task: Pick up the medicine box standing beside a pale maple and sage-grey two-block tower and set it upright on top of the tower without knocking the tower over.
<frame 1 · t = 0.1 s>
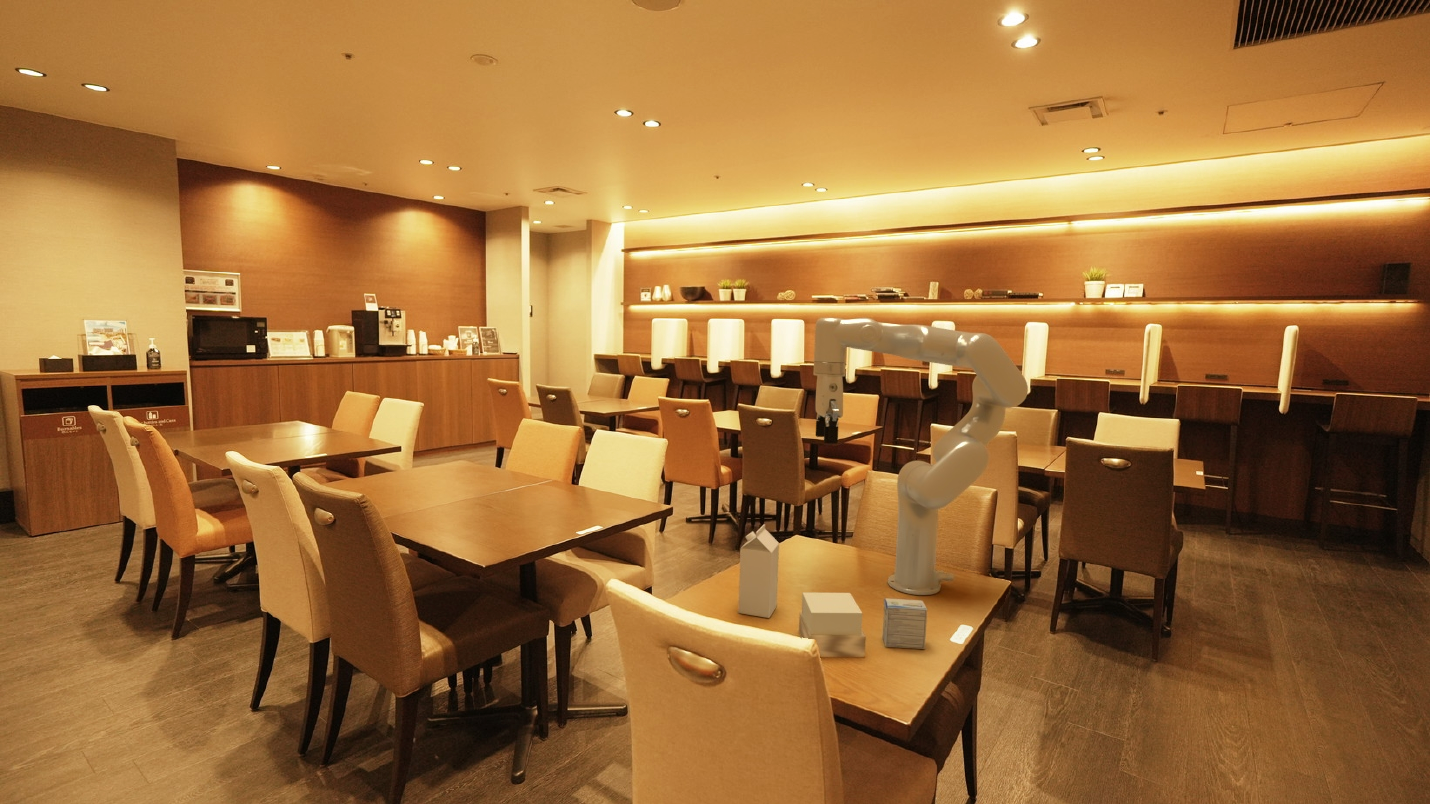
hand: (826, 439, 162), 37 cm above the table, tool pointing down, fingers open, 9 cm apart
milk carton: (757, 611, 151), on the table
medicine box: (903, 644, 136), on the table
tower top: (830, 623, 135), point 4 cm above the table
tower base: (830, 645, 135), on the table
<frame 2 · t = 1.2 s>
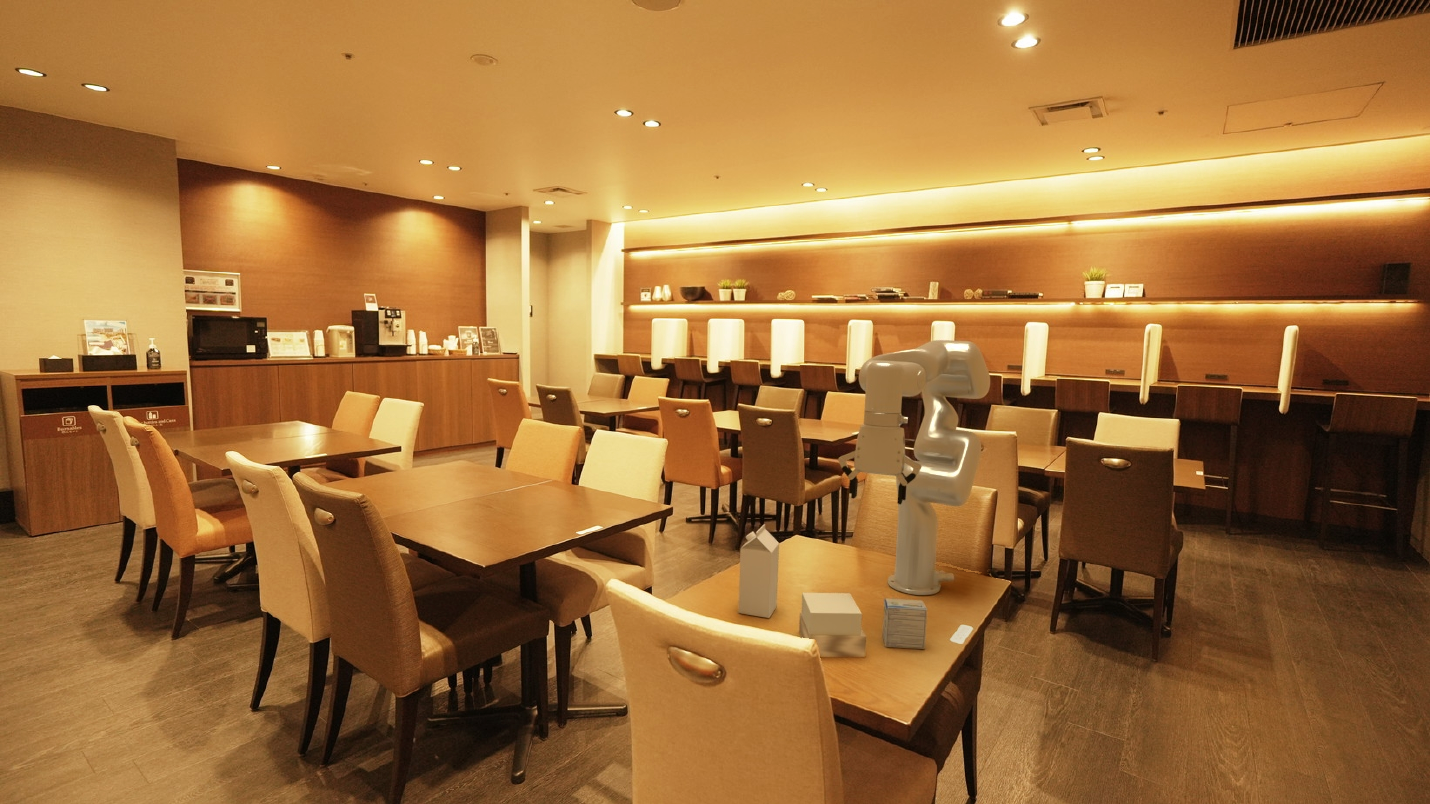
hand: (876, 500, 143), 27 cm above the table, tool pointing down, fingers open, 9 cm apart
tower top: (829, 624, 135), point 4 cm above the table, touching tower base
tower base: (830, 645, 135), on the table, touching tower top
everything else where it was.
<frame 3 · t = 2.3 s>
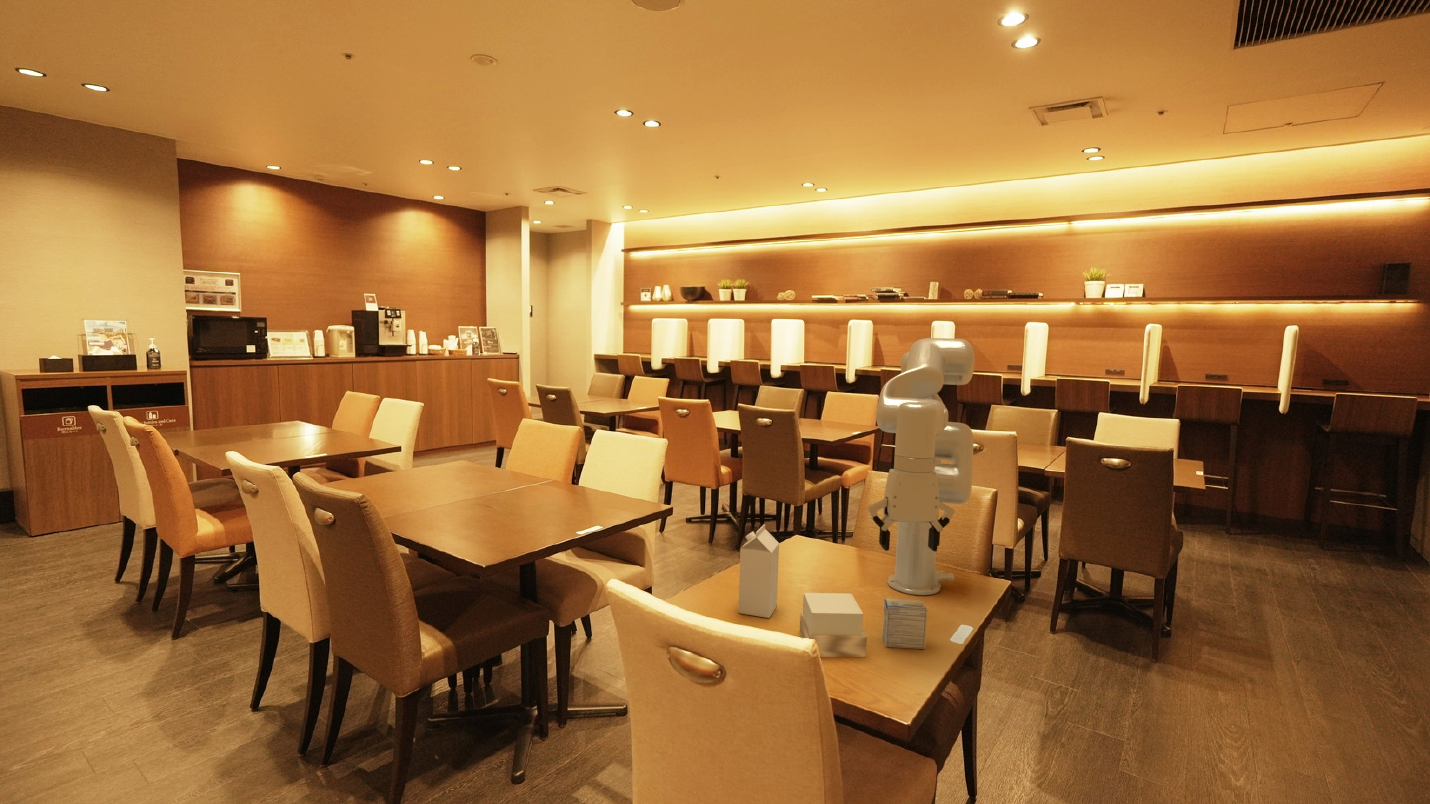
hand: (908, 548, 134), 20 cm above the table, tool pointing down, fingers open, 9 cm apart
nothing on the table moved.
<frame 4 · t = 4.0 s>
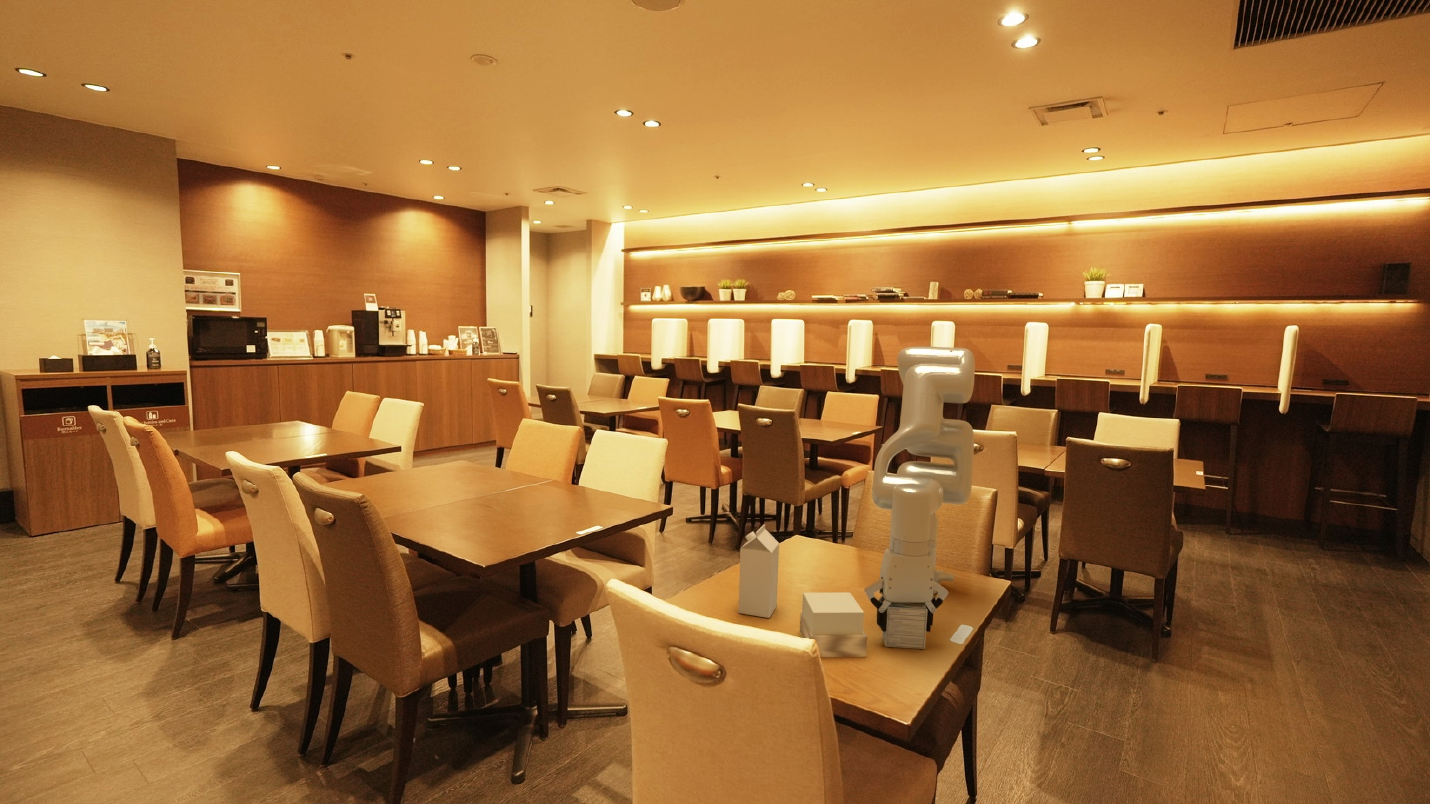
hand: (904, 628, 136), 3 cm above the table, tool pointing down, fingers closed on medicine box, 8 cm apart
medicine box: (903, 644, 136), on the table, touching gripper
tower top: (831, 623, 135), point 4 cm above the table
tower base: (831, 645, 135), on the table
everything else where it was.
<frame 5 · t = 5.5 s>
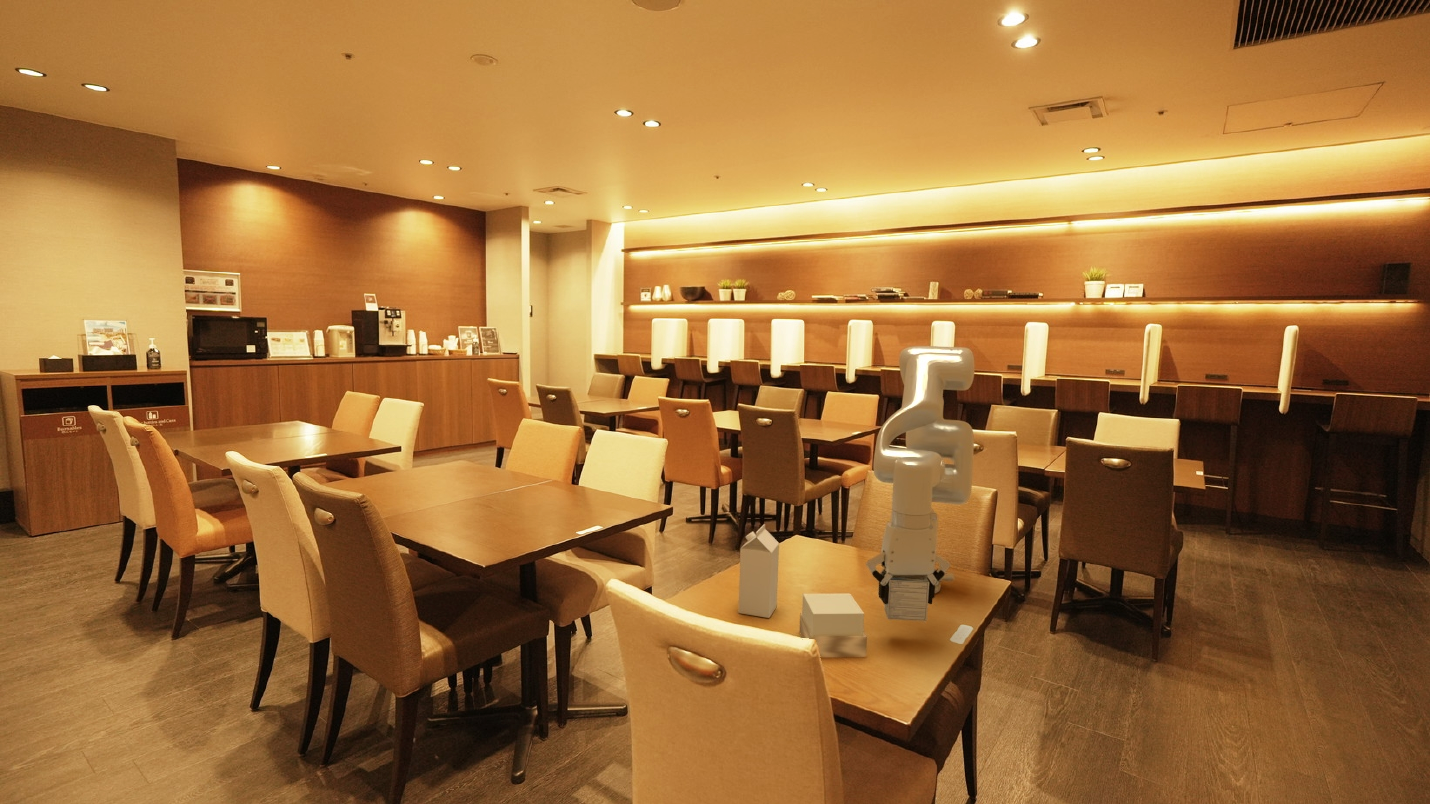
hand: (905, 601, 136), 9 cm above the table, tool pointing down, fingers closed on medicine box, 8 cm apart
medicine box: (905, 617, 137), point 5 cm above the table, touching gripper
tower top: (831, 624, 135), point 4 cm above the table, touching tower base
tower base: (831, 645, 135), on the table, touching tower top
everything else where it was.
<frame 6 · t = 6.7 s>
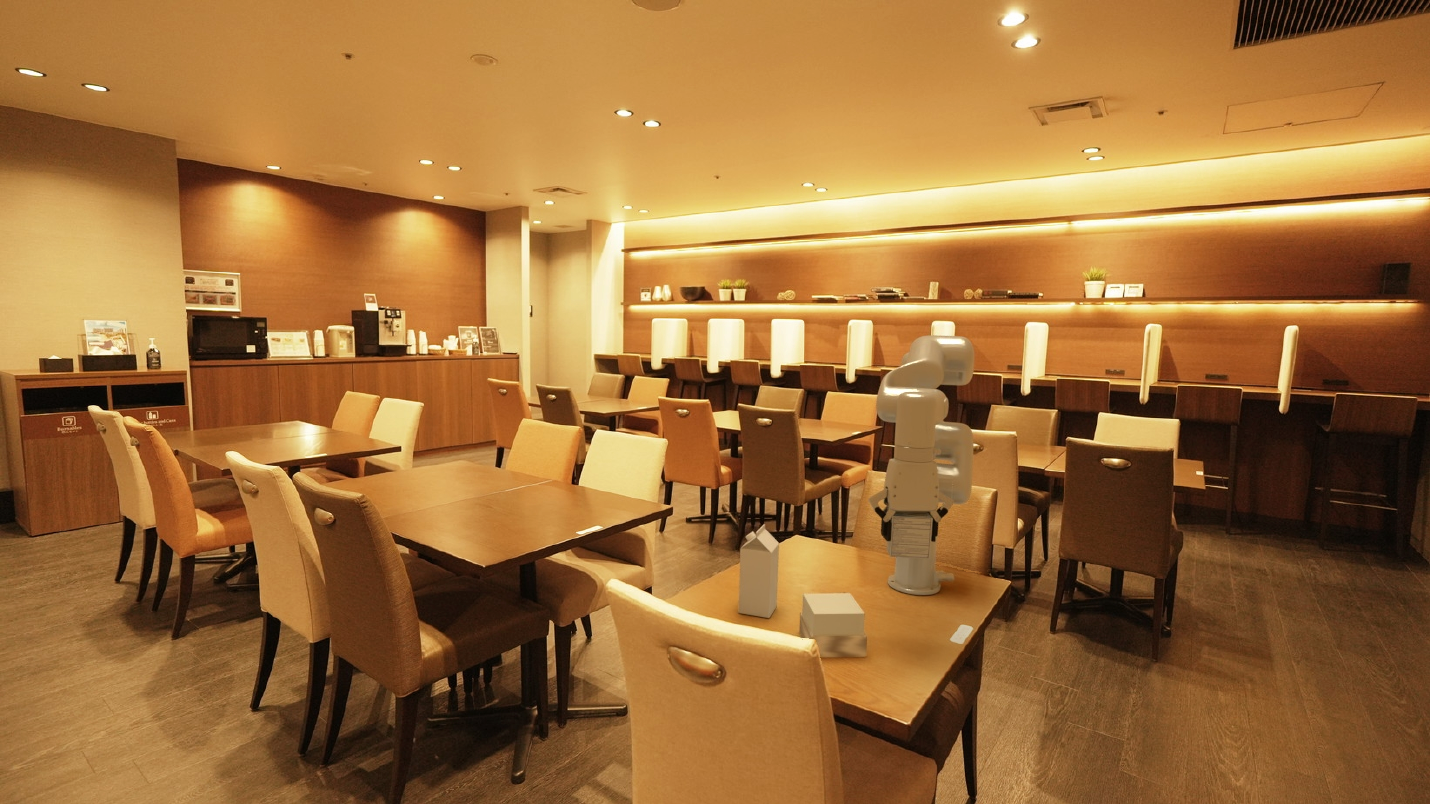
hand: (908, 539, 134), 22 cm above the table, tool pointing down, fingers closed on medicine box, 8 cm apart
medicine box: (907, 556, 134), point 18 cm above the table, touching gripper
everything else where it was.
when the fingers open (13 cm above the table, at t = 10.3 s): medicine box drops 1 cm, resting on tower top.
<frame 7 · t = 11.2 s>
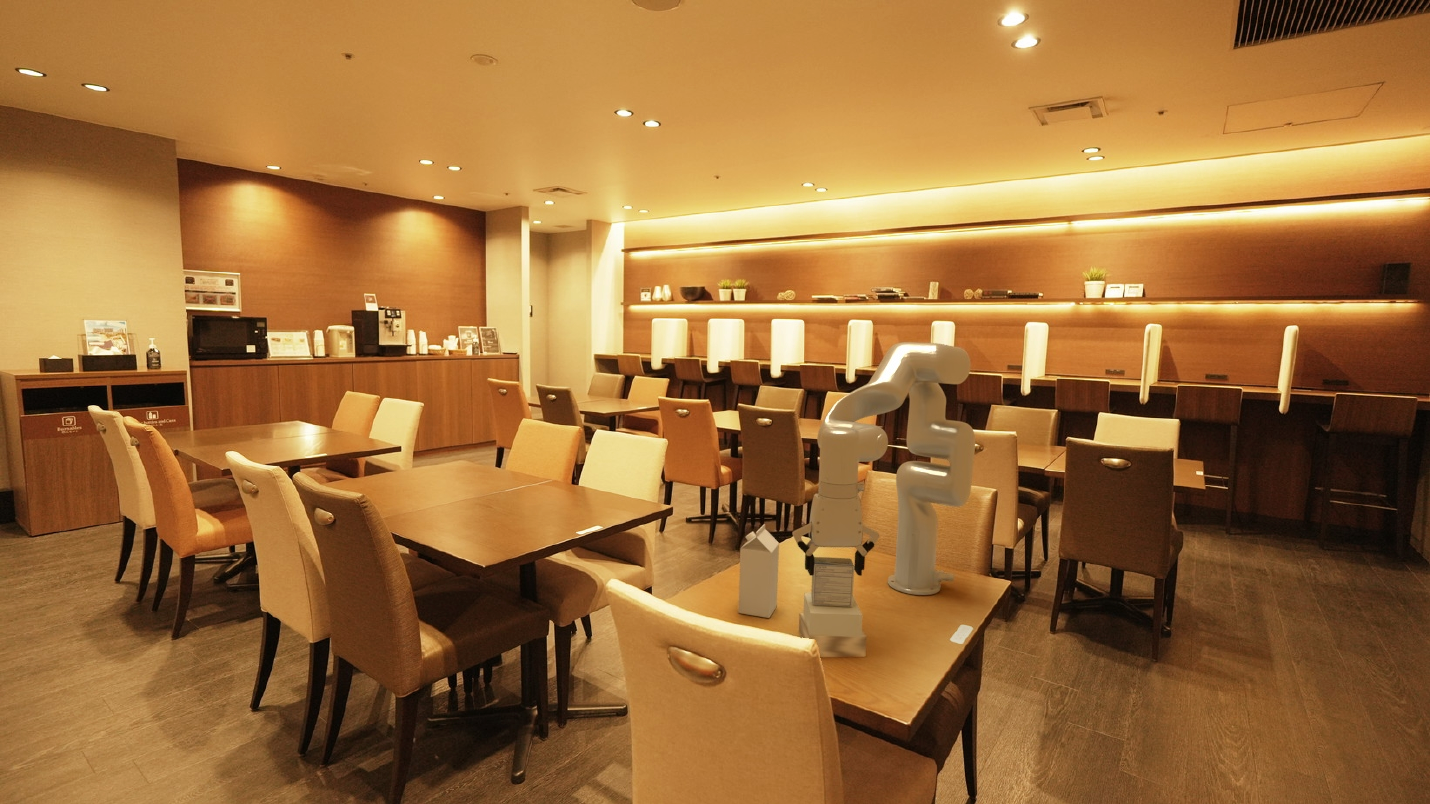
hand: (834, 573, 134), 15 cm above the table, tool pointing down, fingers open, 9 cm apart
medicine box: (831, 603, 134), point 8 cm above the table, touching gripper, tower top
tower top: (831, 624, 135), point 4 cm above the table, touching medicine box, tower base
everything else where it was.
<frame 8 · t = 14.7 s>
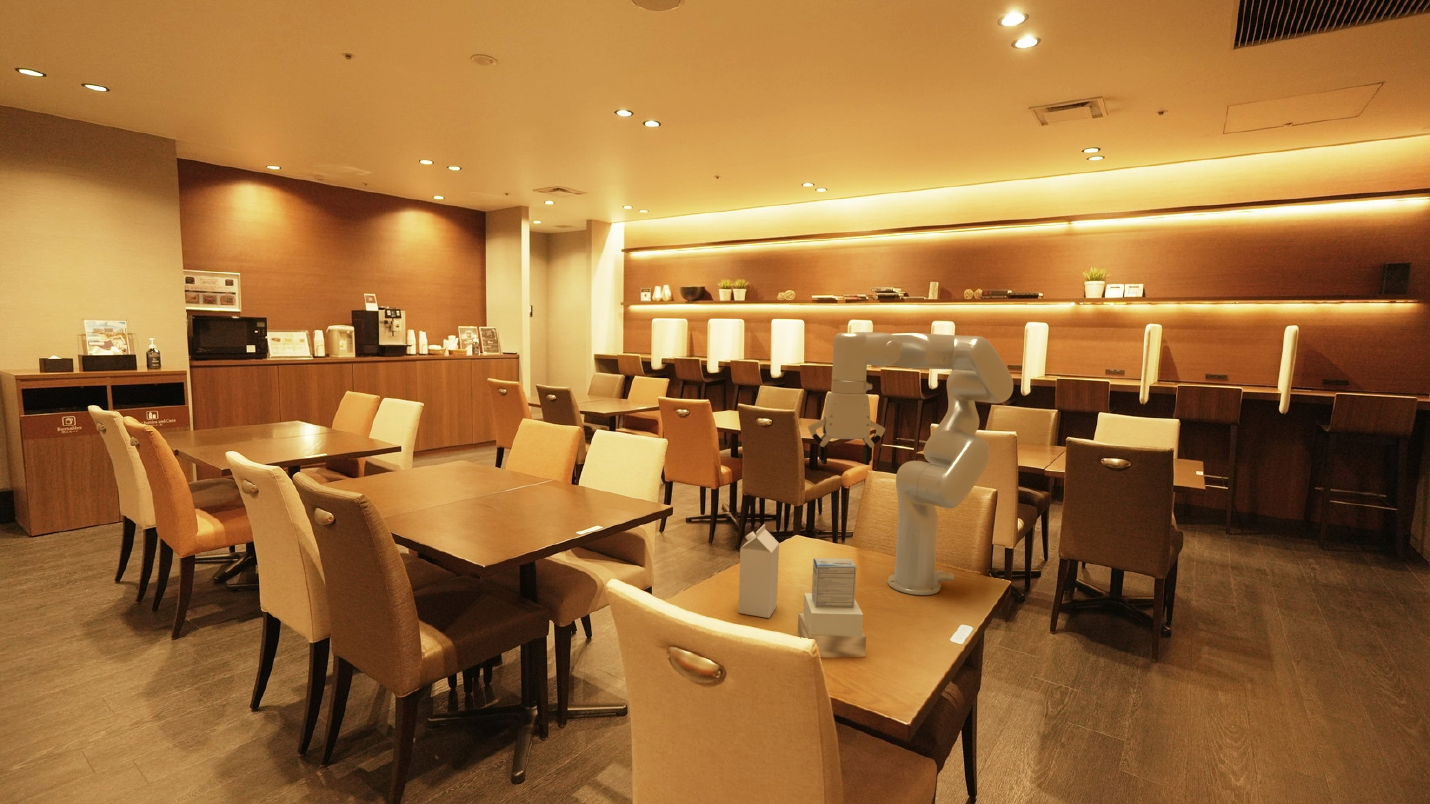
hand: (844, 463, 151), 33 cm above the table, tool pointing down, fingers open, 9 cm apart
medicine box: (832, 604, 134), point 8 cm above the table, touching tower top
everything else where it was.
at the end: medicine box 0.0 cm off-centre on the tower top, point 4.3 cm above the tower top's base; medicine box tilted 1°; tower top 0.2 cm off-centre on the tower base, point 4.5 cm above the tower base's base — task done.
